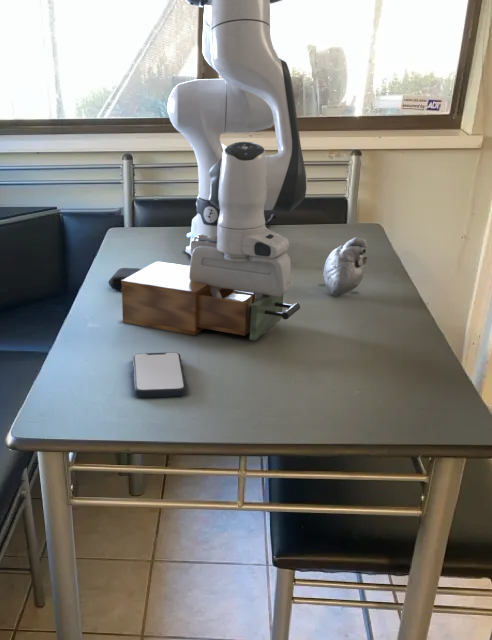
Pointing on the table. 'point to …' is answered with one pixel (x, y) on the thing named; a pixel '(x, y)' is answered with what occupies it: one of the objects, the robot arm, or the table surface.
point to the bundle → (243, 298)
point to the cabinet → (162, 298)
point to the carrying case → (121, 277)
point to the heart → (345, 267)
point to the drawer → (240, 313)
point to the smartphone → (158, 375)
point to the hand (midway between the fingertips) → (237, 311)
